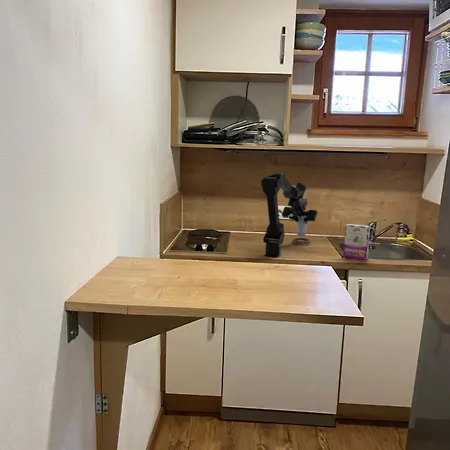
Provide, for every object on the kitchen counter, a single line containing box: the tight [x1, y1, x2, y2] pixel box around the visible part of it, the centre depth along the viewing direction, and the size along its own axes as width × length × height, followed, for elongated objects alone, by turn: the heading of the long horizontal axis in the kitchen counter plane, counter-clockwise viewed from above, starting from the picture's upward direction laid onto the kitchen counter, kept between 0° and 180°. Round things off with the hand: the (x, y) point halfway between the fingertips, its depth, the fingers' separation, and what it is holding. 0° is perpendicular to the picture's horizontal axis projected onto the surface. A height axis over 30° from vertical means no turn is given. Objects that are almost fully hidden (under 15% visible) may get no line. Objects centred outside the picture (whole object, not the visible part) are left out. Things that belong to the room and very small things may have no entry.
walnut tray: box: [291, 237, 312, 246], centre depth 259 cm, size 10×10×2 cm
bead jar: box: [296, 216, 307, 237], centre depth 256 cm, size 5×5×13 cm
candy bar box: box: [342, 223, 371, 261], centre depth 229 cm, size 11×5×16 cm, turn 62°
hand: (303, 223), depth 257 cm, fingers closed on bead jar, 5 cm apart
